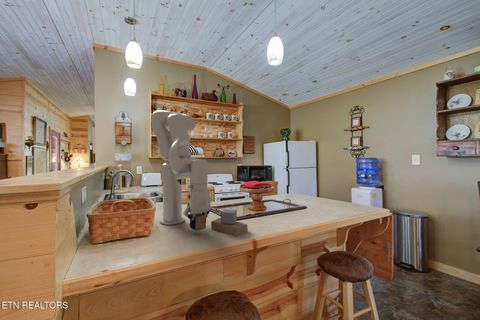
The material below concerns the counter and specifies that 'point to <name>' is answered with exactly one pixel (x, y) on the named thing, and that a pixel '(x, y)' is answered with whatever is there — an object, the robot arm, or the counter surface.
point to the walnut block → (200, 222)
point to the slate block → (228, 216)
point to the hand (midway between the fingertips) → (198, 226)
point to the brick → (229, 227)
